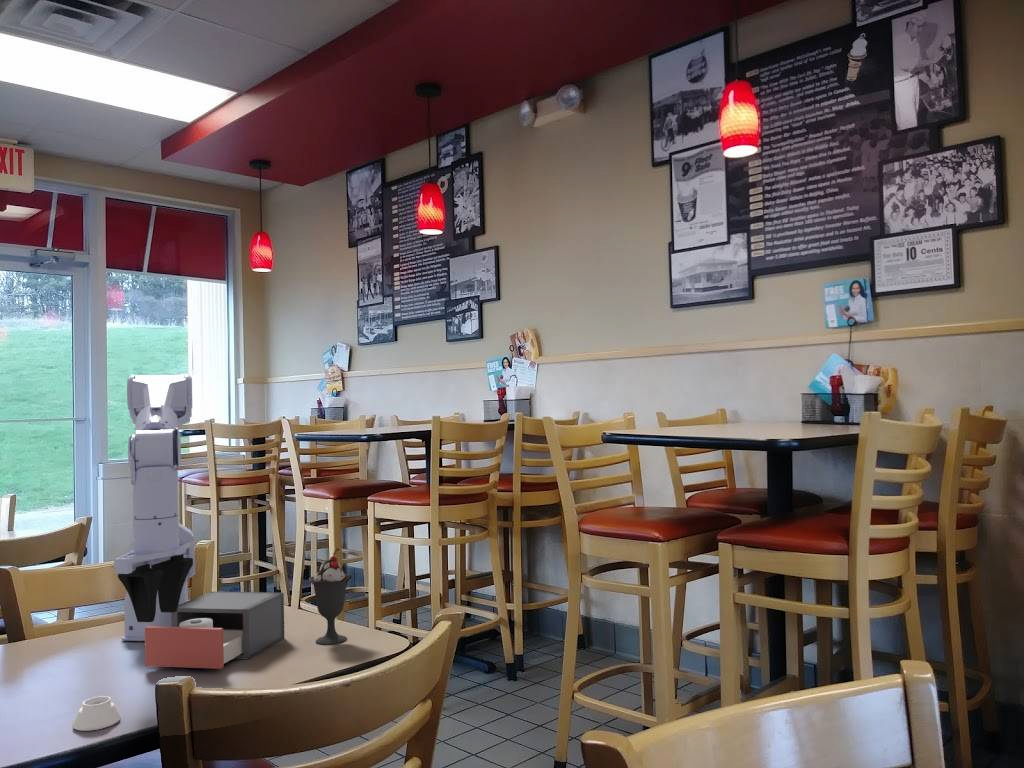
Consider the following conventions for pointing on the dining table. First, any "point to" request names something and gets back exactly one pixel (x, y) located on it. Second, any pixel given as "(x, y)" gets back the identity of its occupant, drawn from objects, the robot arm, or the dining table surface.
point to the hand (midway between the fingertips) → (157, 616)
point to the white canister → (197, 623)
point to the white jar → (96, 714)
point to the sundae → (330, 596)
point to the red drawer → (191, 646)
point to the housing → (240, 616)
